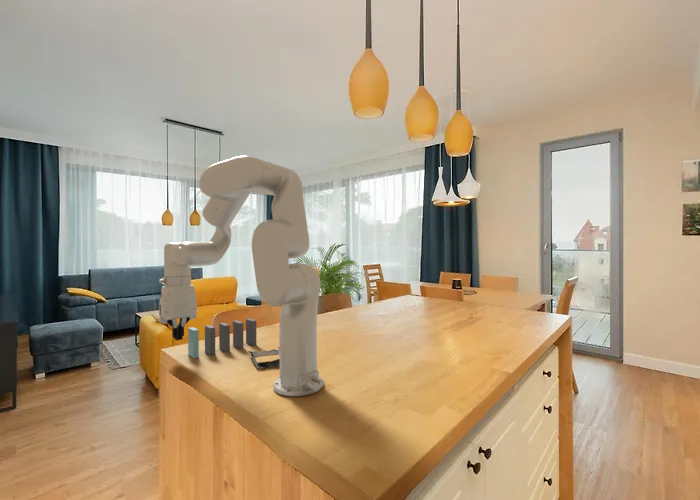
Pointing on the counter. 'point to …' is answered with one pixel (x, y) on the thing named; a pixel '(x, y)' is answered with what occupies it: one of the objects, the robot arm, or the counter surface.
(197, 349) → the teal domino
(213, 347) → the domino
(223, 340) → the domino
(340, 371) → the counter surface
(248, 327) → the domino
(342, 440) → the counter surface
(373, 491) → the counter surface
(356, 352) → the counter surface
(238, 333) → the domino
